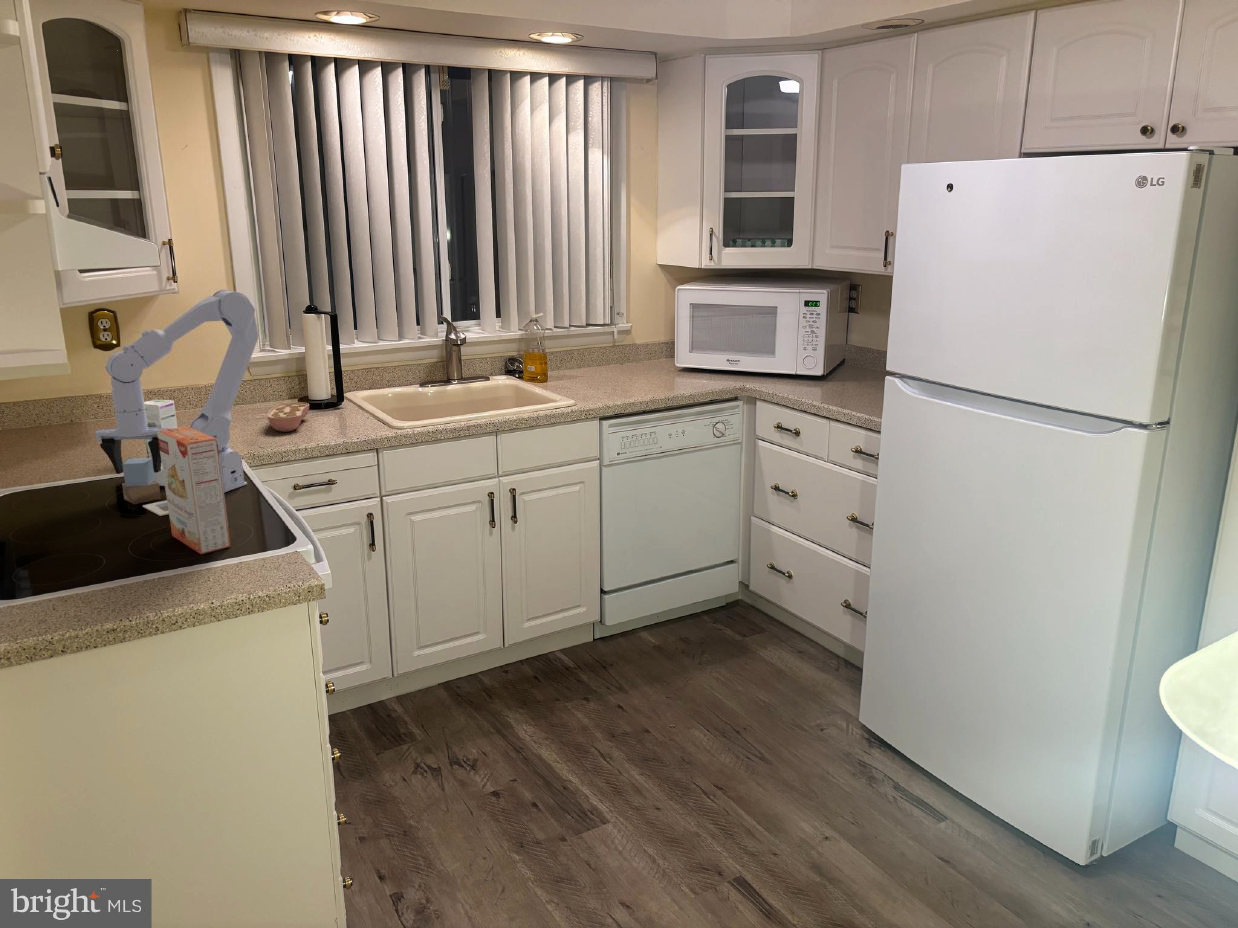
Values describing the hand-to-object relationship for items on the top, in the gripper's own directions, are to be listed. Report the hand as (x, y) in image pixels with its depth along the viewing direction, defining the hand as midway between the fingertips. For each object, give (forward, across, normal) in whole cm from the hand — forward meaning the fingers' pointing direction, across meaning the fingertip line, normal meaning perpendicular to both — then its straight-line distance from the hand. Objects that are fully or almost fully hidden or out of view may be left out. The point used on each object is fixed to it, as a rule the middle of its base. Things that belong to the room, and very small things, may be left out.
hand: (138, 472), depth 199 cm
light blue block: (+2, 0, 0) cm, 2 cm away
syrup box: (+6, +8, -37) cm, 38 cm away
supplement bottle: (+3, +4, -16) cm, 16 cm away
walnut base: (+6, 0, 0) cm, 6 cm away
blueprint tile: (+6, -7, +8) cm, 12 cm away
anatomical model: (+6, -16, -71) cm, 73 cm away
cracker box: (+6, -21, +31) cm, 38 cm away
